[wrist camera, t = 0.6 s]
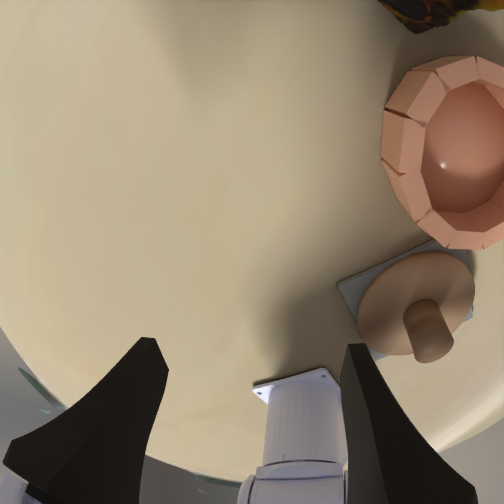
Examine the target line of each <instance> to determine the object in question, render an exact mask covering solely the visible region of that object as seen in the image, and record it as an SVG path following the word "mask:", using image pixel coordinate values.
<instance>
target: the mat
mask: <svg viewBox="0 0 504 504" xmlns="http://www.w3.org/2000/svg"><path fill="white" fill-rule="evenodd" d="M432 250H437V251H444V252H448V253H451V254H453V255H455V256H456V257H458V258H459V259H460V260H461V261H462V262H463V263H464V264H465V266H466V267H467V268H468V270H469V267H468V259H467V252H466V249H448V248H447V247H444V246H443V245H441V244H440V243H439V242H438V241H437V240H435V239H433V240H430V241H428V242H426V243H424V244H422V245H420V246H418V247H416V248H414V249H412V250H410V251H408V252H405V253H403V254H401V255H399V256H397V257H395V258H393V259H390V260H388V261H386V262H384V263H382V264H379V265H377V266H375V267H373V268H370V269H368V270H366V271H364V272H361V273H359V274H357V275H355V276H352V277H350V278H348V279H345V280H343V281H341V282H338V283H337V287H338V289H339V291H340V292H341V294H342V296H343V298H344V300H345V302H346V304H347V306H348V308H349V309H350V311H351V313H352V315H353V317H354V319H355V321H356V323H357V308H358V304H359V301H360V298H361V296H362V294H363V292H364V291H365V289H366V288H367V286H368V285H369V284H370V283H371V281H372V280H373V279H374V278H375V277H376V276H377V275H378V274H379V273H380V272H381V271H383V270H384V269H385V268H386V267H388V266H389V265H391V264H392V263H394V262H396V261H398V260H400V259H401V258H404V257H406V256H408V255H411V254H414V253H418V252H423V251H432ZM471 318H472V306H471V309H470V311H469V313H468V314H467V316H466V318H465V319H464V321H463V322H465V321H467V320H469V319H471ZM463 322H462V323H463ZM357 325H358V323H357ZM369 349H370V351H371V353H372V355H373V357H374V359H375V361H376V360H378V359H381V358H384V357H386V356H389V355H386V354H382V353H379V352H376V351H374V350H372V349H371V348H370V347H369Z"/></svg>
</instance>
